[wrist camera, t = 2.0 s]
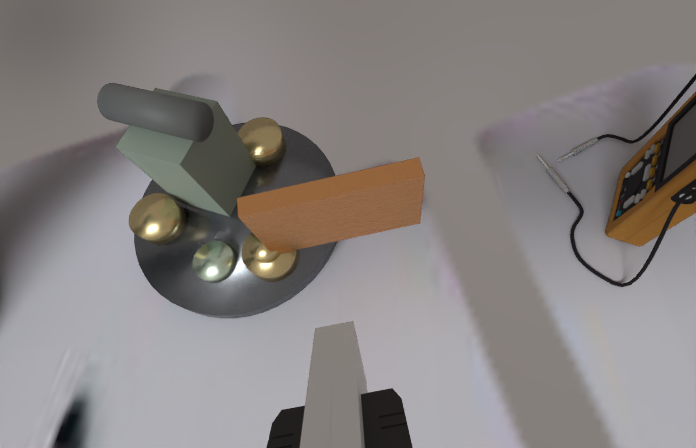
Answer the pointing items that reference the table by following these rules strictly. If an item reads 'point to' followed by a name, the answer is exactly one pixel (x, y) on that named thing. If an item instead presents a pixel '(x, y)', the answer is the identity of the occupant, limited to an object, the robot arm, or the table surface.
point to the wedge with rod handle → (181, 144)
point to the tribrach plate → (227, 233)
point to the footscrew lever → (327, 214)
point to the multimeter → (650, 183)
